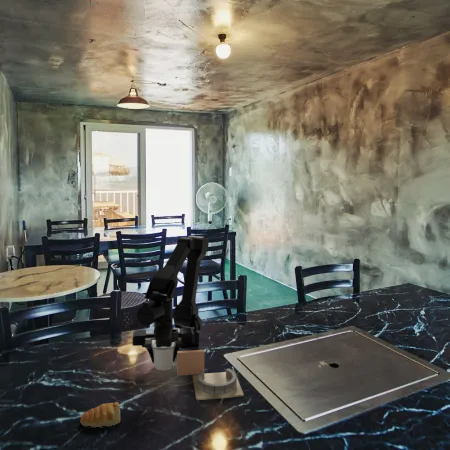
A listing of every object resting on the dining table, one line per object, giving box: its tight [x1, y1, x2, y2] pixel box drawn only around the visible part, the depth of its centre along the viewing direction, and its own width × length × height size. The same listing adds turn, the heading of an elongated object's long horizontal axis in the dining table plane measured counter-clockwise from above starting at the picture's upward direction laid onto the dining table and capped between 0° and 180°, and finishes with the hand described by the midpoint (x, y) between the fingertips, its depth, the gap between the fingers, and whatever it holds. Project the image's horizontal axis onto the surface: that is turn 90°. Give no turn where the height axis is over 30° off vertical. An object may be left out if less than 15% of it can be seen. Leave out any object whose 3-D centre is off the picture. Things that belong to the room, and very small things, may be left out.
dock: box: [191, 368, 245, 401], centre depth 109 cm, size 13×13×3 cm
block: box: [176, 349, 205, 376], centre depth 114 cm, size 8×1×7 cm, turn 100°
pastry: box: [79, 401, 121, 428], centre depth 93 cm, size 9×7×4 cm
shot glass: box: [152, 342, 174, 371], centre depth 120 cm, size 7×7×7 cm
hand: (163, 362), depth 120 cm, fingers closed on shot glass, 6 cm apart
